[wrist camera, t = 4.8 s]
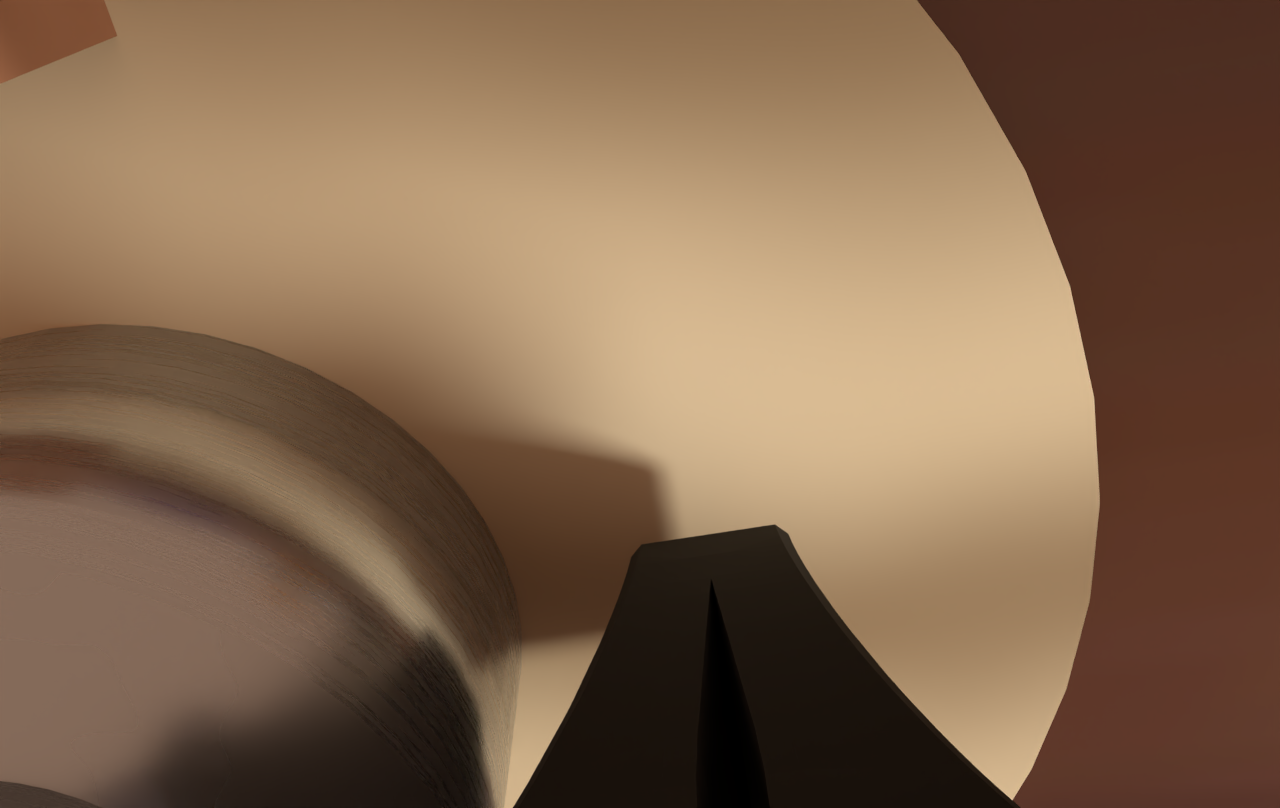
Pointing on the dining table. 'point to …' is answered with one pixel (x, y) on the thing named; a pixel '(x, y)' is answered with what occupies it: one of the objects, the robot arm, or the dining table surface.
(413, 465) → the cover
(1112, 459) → the dining table surface
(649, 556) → the robot arm
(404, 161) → the disc
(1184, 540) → the dining table surface
